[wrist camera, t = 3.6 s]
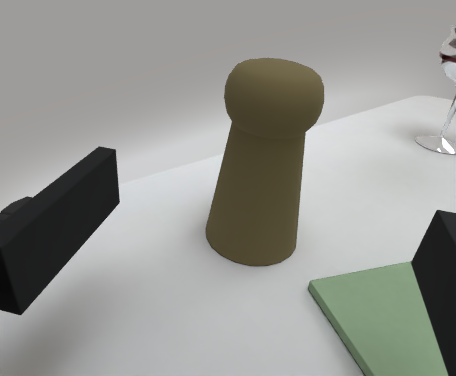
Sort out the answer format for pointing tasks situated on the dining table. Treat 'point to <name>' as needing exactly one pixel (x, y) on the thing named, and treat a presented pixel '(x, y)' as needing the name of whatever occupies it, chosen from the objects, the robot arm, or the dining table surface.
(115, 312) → the dining table surface
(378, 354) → the sage mat
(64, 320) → the dining table surface
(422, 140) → the wineglass
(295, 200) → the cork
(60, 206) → the robot arm
